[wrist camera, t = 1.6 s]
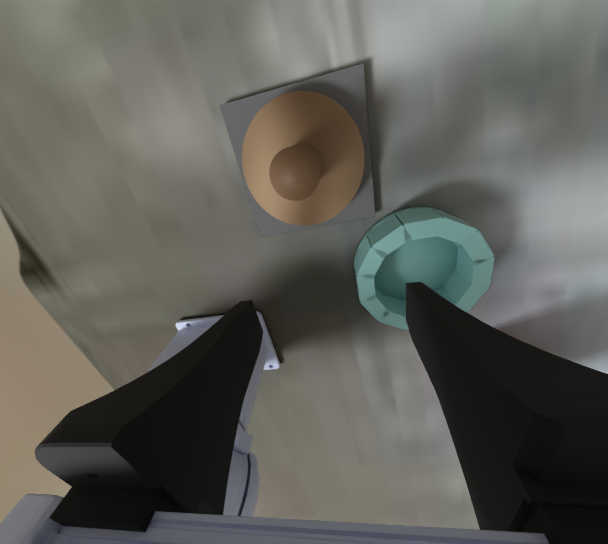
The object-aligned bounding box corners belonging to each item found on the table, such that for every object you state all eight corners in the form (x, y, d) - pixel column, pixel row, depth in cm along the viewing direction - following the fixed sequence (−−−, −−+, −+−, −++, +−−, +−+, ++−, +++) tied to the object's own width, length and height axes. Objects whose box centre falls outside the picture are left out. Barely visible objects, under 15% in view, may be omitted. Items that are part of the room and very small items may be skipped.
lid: (265, 229, 19) (246, 256, 15) (229, 112, 16) (191, 103, 11) (367, 210, 18) (380, 234, 13) (355, 76, 14) (367, 49, 10)
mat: (262, 234, 20) (261, 236, 20) (223, 106, 16) (219, 105, 15) (374, 214, 18) (375, 216, 18) (362, 65, 14) (363, 63, 14)
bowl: (359, 310, 23) (364, 334, 20) (347, 218, 19) (350, 233, 16) (463, 298, 21) (483, 322, 19) (475, 195, 17) (503, 207, 14)
